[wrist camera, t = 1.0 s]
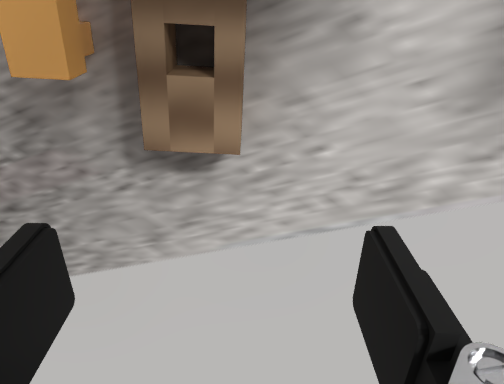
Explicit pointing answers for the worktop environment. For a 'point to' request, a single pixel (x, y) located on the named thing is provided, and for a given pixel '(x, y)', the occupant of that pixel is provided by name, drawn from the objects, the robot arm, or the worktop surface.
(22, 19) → the orange block
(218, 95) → the rail
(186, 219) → the worktop surface
